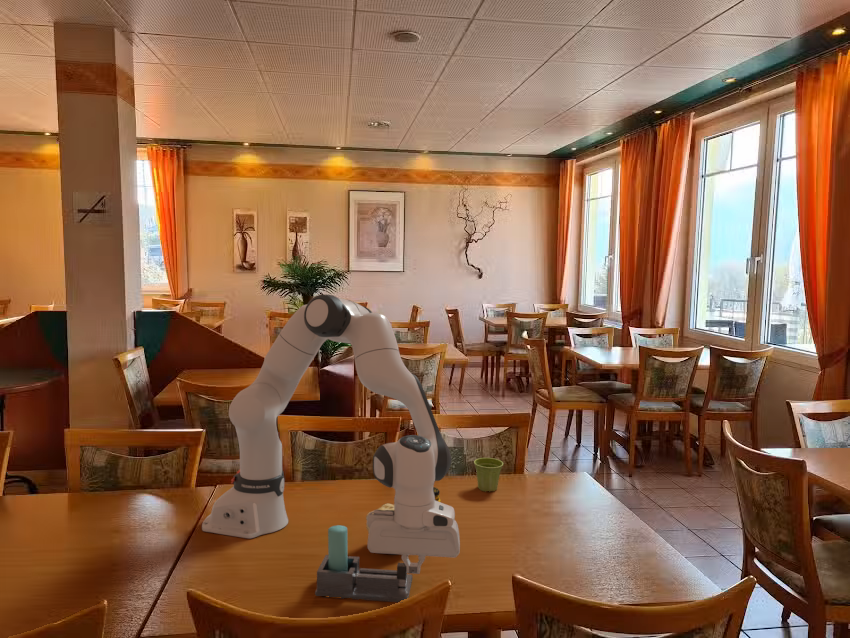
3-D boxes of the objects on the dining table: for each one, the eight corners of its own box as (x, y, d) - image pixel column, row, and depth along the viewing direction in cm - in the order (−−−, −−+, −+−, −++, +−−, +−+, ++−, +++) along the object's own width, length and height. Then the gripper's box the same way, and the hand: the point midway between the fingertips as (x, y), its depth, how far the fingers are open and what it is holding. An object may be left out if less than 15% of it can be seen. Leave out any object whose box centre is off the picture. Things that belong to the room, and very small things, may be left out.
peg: (326, 585, 136) (326, 533, 135) (330, 575, 140) (330, 525, 139) (345, 586, 136) (345, 534, 134) (349, 576, 140) (348, 525, 139)
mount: (412, 578, 142) (412, 557, 141) (407, 602, 132) (407, 580, 131) (326, 573, 143) (326, 552, 143) (315, 596, 133) (315, 574, 133)
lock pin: (406, 583, 137) (407, 563, 137) (405, 586, 136) (406, 566, 135) (353, 579, 138) (353, 559, 138) (351, 583, 137) (352, 563, 136)
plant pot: (506, 486, 201) (507, 460, 200) (497, 496, 192) (498, 469, 192) (478, 481, 205) (479, 456, 204) (469, 491, 196) (469, 464, 195)
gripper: (364, 515, 133) (364, 576, 134) (460, 520, 131) (458, 582, 132) (369, 503, 139) (369, 562, 140) (461, 508, 137) (459, 567, 139)
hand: (413, 572), depth 136 cm, fingers closed
